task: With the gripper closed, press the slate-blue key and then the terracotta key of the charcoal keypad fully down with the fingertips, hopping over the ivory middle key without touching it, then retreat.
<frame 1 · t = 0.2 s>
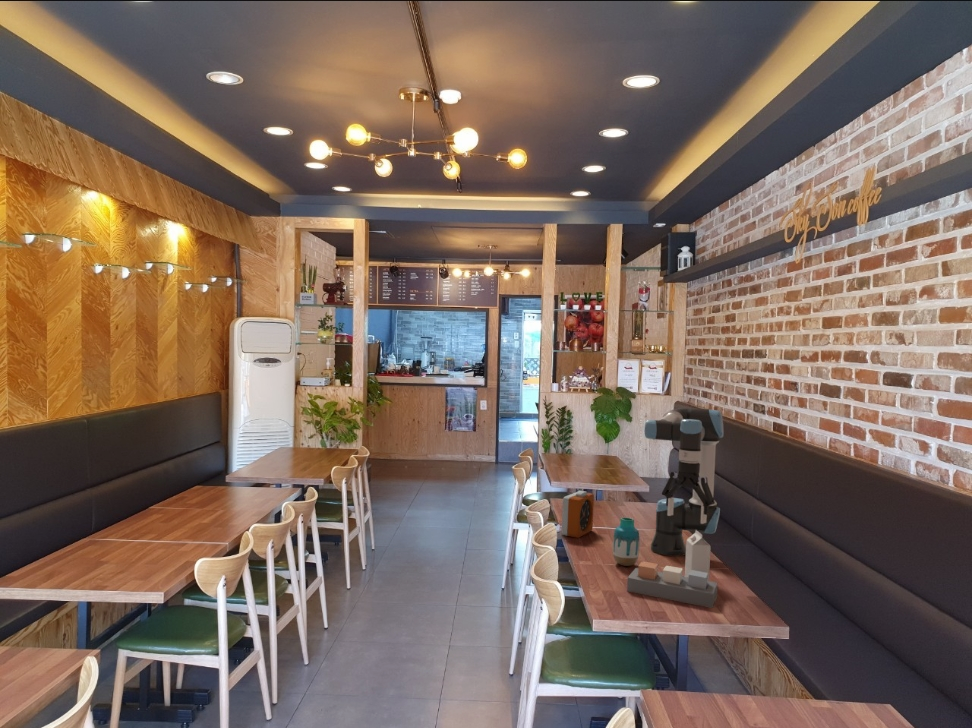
hand: (686, 519, 242), 27 cm above the table, fingers open, 13 cm apart
vase: (625, 565, 272), on the table
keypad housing: (671, 593, 241), on the table
key rust: (647, 572, 245), point 6 cm above the table, slide at 0.0 cm
milk carton: (696, 581, 256), on the table
key ivory: (672, 577, 241), point 6 cm above the table, slide at 0.0 cm
alarm clock: (577, 533, 317), on the table
key slate: (698, 581, 237), point 6 cm above the table, slide at 0.0 cm
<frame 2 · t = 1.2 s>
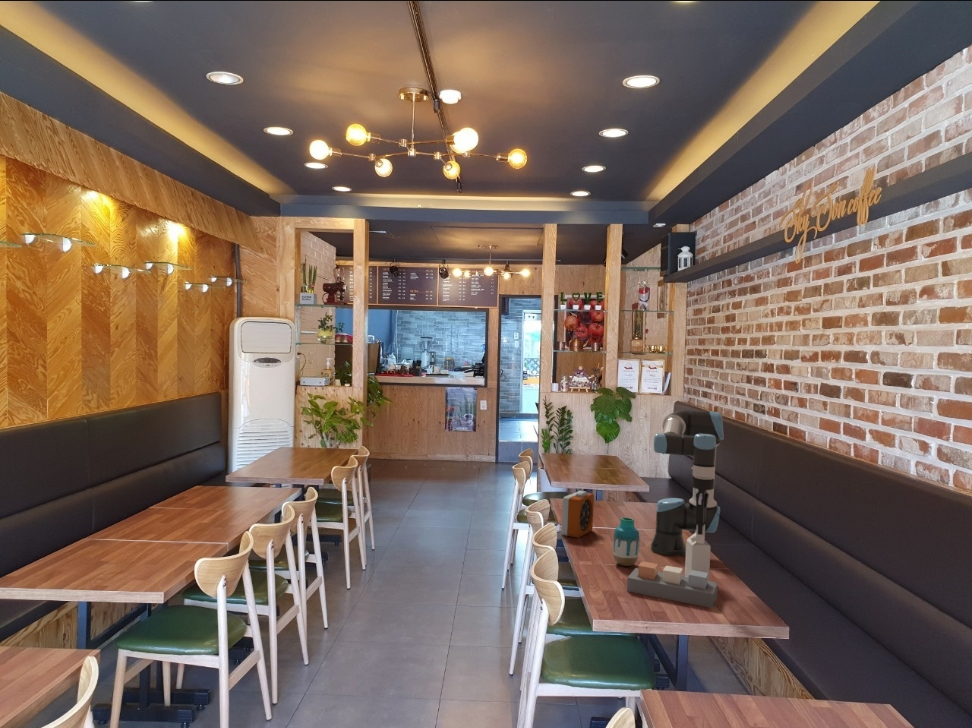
hand: (700, 542, 236), 20 cm above the table, fingers closed
nothing on the table moved.
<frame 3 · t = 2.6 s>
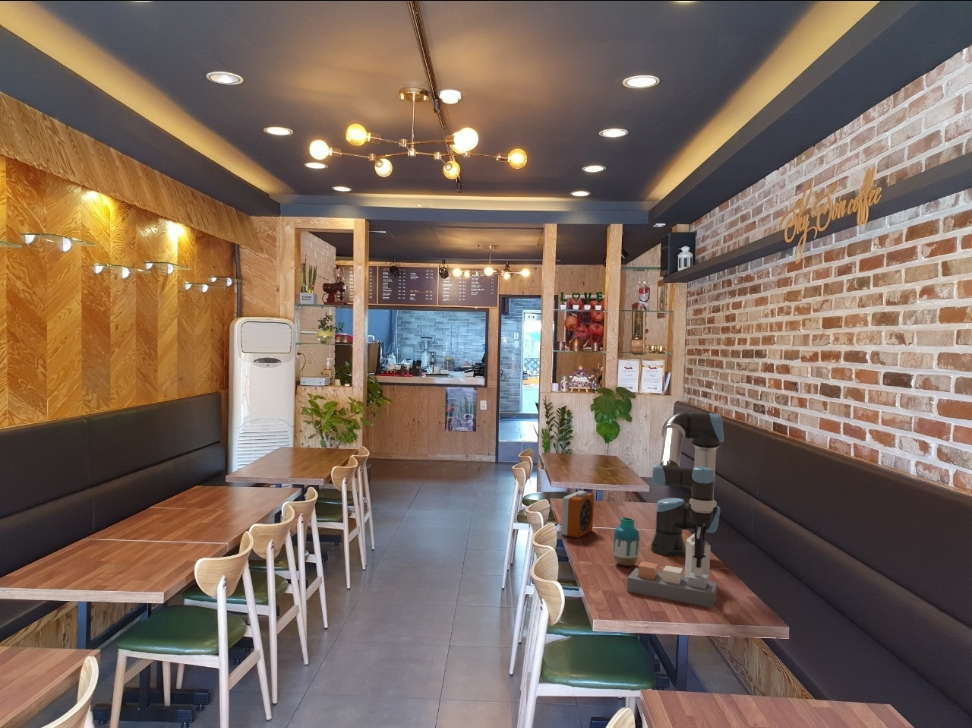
hand: (698, 575, 237), 8 cm above the table, fingers closed
key slate: (698, 584, 237), point 5 cm above the table, slide at 0.9 cm, touching gripper
everything else where it was.
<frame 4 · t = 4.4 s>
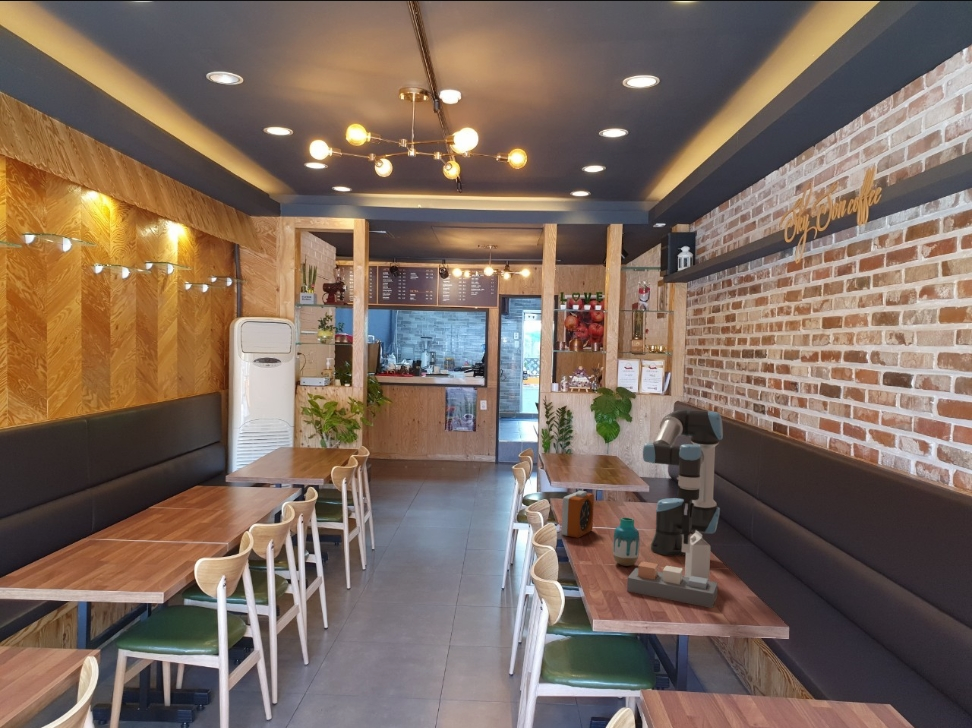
hand: (685, 551, 239), 16 cm above the table, fingers closed
key slate: (697, 587, 237), point 4 cm above the table, slide at 2.2 cm
everything else where it was.
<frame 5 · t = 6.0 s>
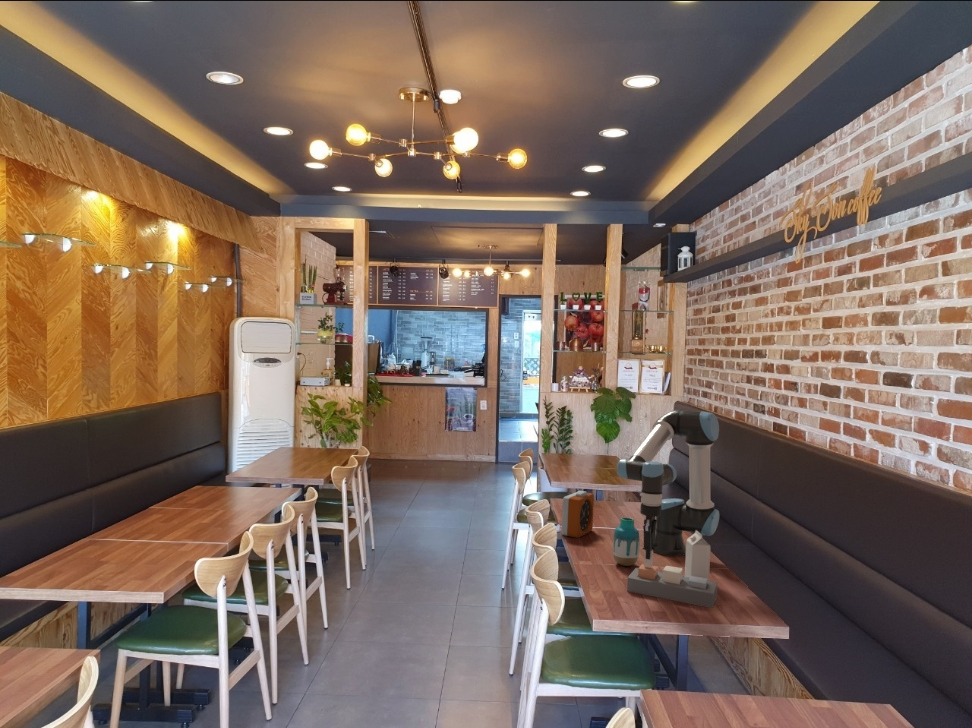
hand: (648, 566, 244), 8 cm above the table, fingers closed
key rust: (647, 575, 245), point 5 cm above the table, slide at 1.0 cm, touching gripper
everything else where it was.
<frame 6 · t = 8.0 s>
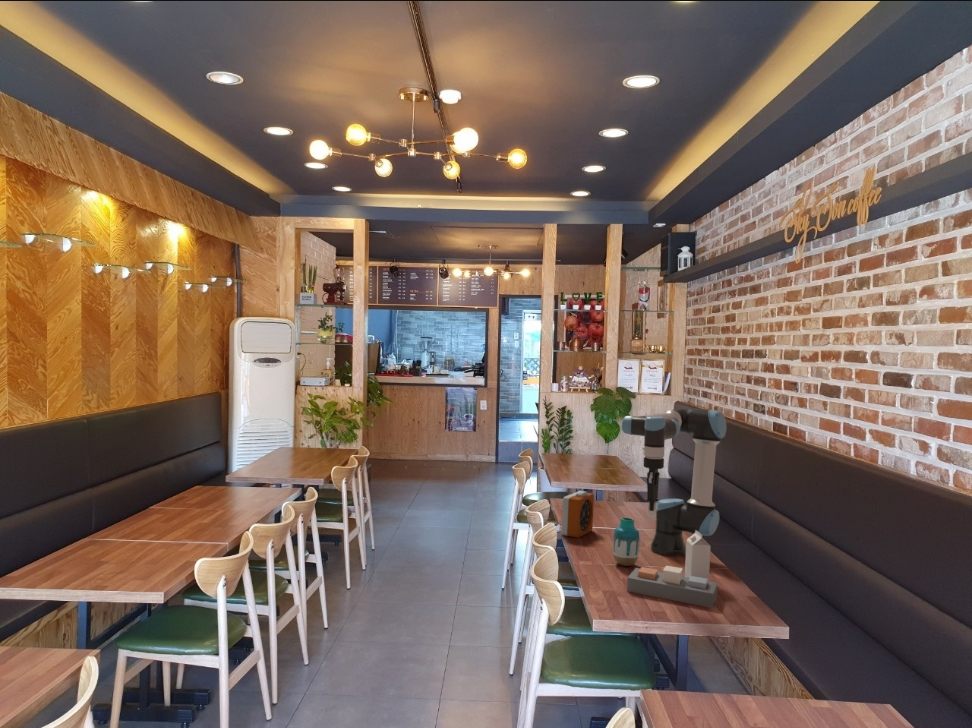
hand: (651, 518, 251), 25 cm above the table, fingers closed
key rust: (647, 578, 245), point 4 cm above the table, slide at 2.2 cm
everything else where it was.
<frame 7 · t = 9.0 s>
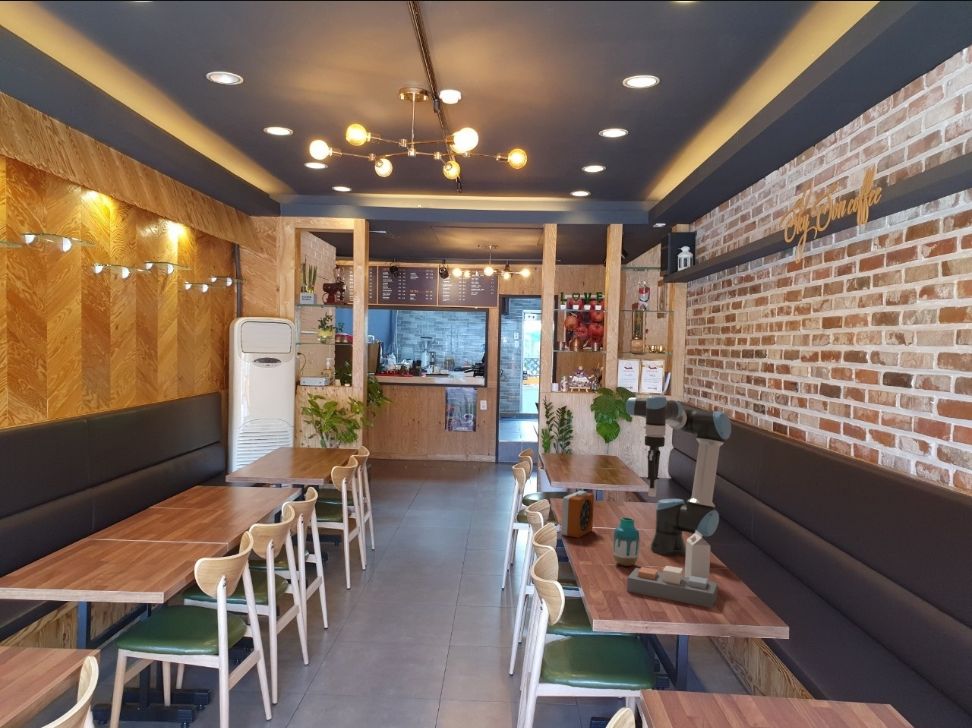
hand: (652, 496, 255), 32 cm above the table, fingers closed
nothing on the table moved.
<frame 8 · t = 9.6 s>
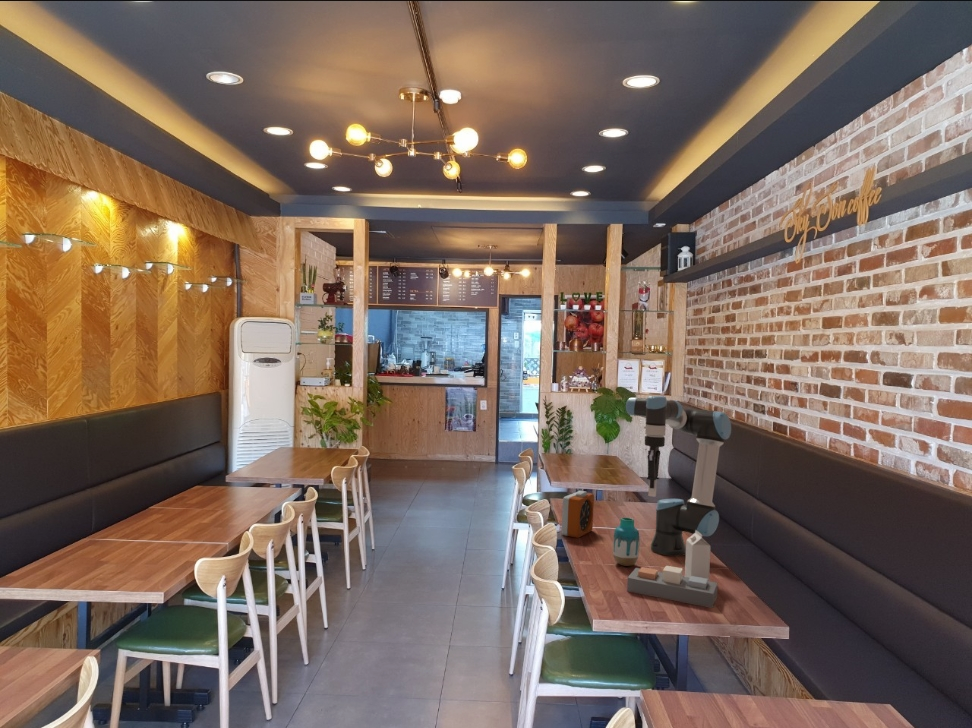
hand: (652, 496, 255), 32 cm above the table, fingers closed
nothing on the table moved.
at the end: key slate slide at 2.2 cm; key rust slide at 2.2 cm; key ivory slide at 0.0 cm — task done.
